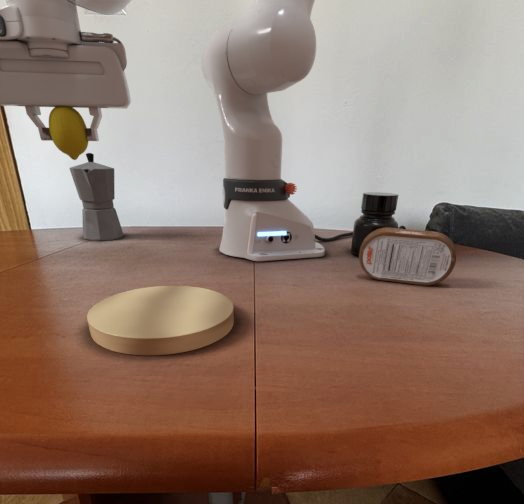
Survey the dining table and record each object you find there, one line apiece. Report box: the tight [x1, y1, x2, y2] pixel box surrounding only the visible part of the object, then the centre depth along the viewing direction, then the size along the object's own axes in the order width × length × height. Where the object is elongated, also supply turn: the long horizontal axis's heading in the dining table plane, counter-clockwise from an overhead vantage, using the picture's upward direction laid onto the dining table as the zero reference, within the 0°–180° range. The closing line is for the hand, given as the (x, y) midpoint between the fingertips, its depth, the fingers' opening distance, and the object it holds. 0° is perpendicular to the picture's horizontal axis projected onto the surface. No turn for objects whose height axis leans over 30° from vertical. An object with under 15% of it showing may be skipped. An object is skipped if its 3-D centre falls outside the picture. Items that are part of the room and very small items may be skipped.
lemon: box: [48, 106, 89, 161], centre depth 60 cm, size 6×6×8 cm
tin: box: [358, 227, 457, 287], centre depth 61 cm, size 15×3×8 cm, turn 71°
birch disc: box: [86, 285, 235, 356], centre depth 46 cm, size 17×17×2 cm
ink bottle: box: [350, 191, 399, 257], centre depth 78 cm, size 10×9×12 cm
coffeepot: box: [69, 152, 124, 242], centre depth 88 cm, size 15×9×18 cm, turn 12°
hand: (70, 140), depth 60 cm, fingers closed on lemon, 5 cm apart
